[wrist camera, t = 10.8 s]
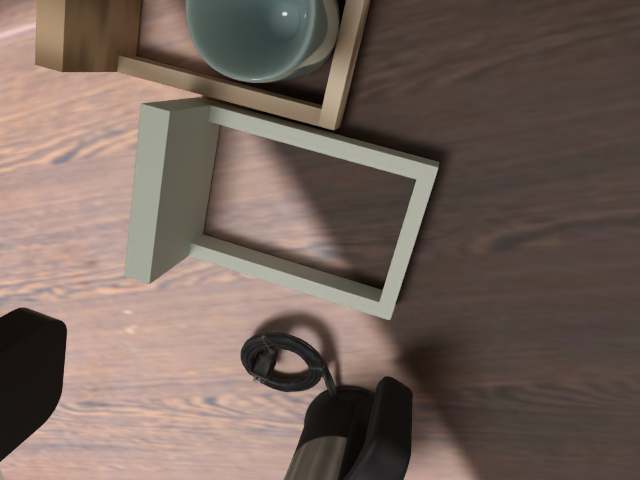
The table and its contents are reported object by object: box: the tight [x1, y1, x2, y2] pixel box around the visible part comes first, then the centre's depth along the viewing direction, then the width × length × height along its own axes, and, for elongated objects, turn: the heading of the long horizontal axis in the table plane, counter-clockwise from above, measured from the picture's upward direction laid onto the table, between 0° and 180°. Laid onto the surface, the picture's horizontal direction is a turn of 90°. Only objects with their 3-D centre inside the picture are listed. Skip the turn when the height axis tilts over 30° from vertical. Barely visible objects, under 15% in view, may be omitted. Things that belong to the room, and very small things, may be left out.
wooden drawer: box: [35, 0, 371, 130], centre depth 34 cm, size 12×19×8 cm, turn 77°
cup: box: [186, 0, 340, 83], centre depth 33 cm, size 8×8×10 cm
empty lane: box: [124, 97, 439, 320], centre depth 37 cm, size 12×19×8 cm, turn 77°
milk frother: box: [241, 333, 413, 480], centre depth 40 cm, size 14×16×15 cm
